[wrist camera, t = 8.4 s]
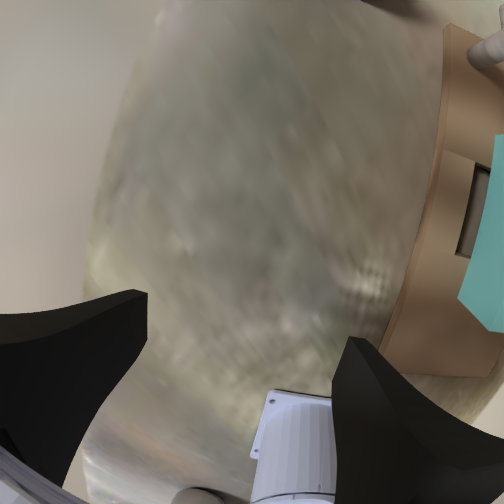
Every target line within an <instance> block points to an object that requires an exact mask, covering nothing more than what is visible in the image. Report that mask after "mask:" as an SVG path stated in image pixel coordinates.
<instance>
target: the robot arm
mask: <svg viewBox="0 0 504 504" xmlns="http://www.w3.org/2000/svg"><path fill="white" fill-rule="evenodd" d="M147 302H148V293H146V292H142V291H138V290H135V289H131V290H125V291H121V292H118V293H114V294H111V295H107V296H104V297H101V298H97V299H94V300H91V301H87V302H83V303H80V304H76V305H72V306H68V307H64V308H59V309H55V310H49V311H42V312H34V313H20V314H0V504H89V503H87V502H85V501H83V500H81V499H80V498H78V497H76V496H74V495H72V494H70V493H69V492H67V491H65V490H64V489H62V486H63V483H64V480H65V478H66V475H67V472H68V470H69V467H70V465H71V462H72V460H73V458H74V456H75V453H76V451H77V449H78V447H79V445H80V443H81V441H82V439H83V437H84V435H85V433H86V431H87V429H88V427H89V425H90V423H91V422H92V420H93V418H94V416H95V415H96V413H97V411H98V409H99V408H100V406H101V405H102V403H103V402H104V400H105V399H106V398H107V396H108V395H109V394H110V393H111V391H112V390H113V389H114V388H115V386H116V385H117V384H118V382H119V381H120V380H121V379H122V377H123V376H124V375H125V374H126V372H127V371H128V370H129V368H130V367H131V366H132V365H133V363H134V362H135V361H136V359H137V357H138V356H139V354H140V352H141V351H142V349H143V347H144V345H145V343H146V341H147ZM271 399H274V400H275V401H272V400H271ZM250 457H251V458H254V459H258V463H257V469H256V474H255V480H254V485H253V490H252V495H251V500H250V504H491V503H492V502H493V501H494V500H495V499H497V498H498V497H499V496H500V495H501V494H502V493H503V492H504V439H502V438H499V437H496V436H493V435H490V434H488V433H485V432H483V431H481V430H479V429H477V428H475V427H472V426H470V425H468V424H467V423H465V422H463V421H461V420H459V419H457V418H456V417H454V416H453V415H451V414H449V413H448V412H446V411H444V410H443V409H442V408H440V407H439V406H437V405H436V404H434V403H433V402H432V401H431V400H429V399H428V398H427V397H425V396H424V395H423V394H421V393H420V392H419V391H418V390H417V389H416V388H415V387H413V386H412V385H411V384H410V383H409V382H408V381H407V380H406V379H405V378H404V377H403V376H402V375H401V374H400V373H399V372H398V371H397V370H396V369H395V368H394V367H393V366H392V365H391V364H390V363H389V362H388V361H387V360H386V359H385V358H384V357H383V356H382V355H381V354H380V353H379V352H378V350H377V349H376V348H375V347H374V346H373V345H372V344H371V343H370V342H369V341H367V340H366V339H364V338H357V337H351V336H349V338H348V340H347V343H346V346H345V349H344V351H343V354H342V357H341V359H340V362H339V365H338V367H337V370H336V372H335V375H334V377H333V380H332V395H331V398H323V397H316V396H309V395H303V394H296V393H290V392H285V391H279V390H271V391H269V392H268V395H267V399H266V402H265V406H264V409H263V413H262V416H261V420H260V423H259V426H258V430H257V433H256V436H255V440H254V443H253V446H252V450H251V453H250Z"/></svg>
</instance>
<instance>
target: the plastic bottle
mask: <svg viewBox="0 0 504 504" xmlns="http://www.w3.org/2000/svg"><path fill="white" fill-rule="evenodd" d="M171 504H224V502H223V500H222V499H221V498H220V497H218V496H216V495H214V494H212V493H210V492H207V491H204V490H200V489H193V488H187V489H183V490H182V491H180V492H178V493H177V494H176V495H175V497H174V498H173V500H172V502H171Z"/></svg>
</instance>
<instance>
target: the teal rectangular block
mask: <svg viewBox="0 0 504 504" xmlns="http://www.w3.org/2000/svg"><path fill="white" fill-rule="evenodd" d="M457 299H458V300H459V301H460V302H461V303H462V304H463V305H464V306H465V307H466V308H467V309H468V310H469V311H470V312H471V313H472V314H473V315H474V316H475V317H476V318H477V319H478V320H479V321H480V322H481V323H482V324H483V325H484V326H485V327H486V329H487V330H488V331H493V332H501V333H504V134H501V135H495V144H494V152H493V160H492V167H491V173H490V179H489V185H488V190H487V196H486V201H485V205H484V210H483V214H482V219H481V223H480V227H479V231H478V234H477V238H476V242H475V245H474V249H473V252H472V256H471V259H470V262H469V265H468V269H467V272H466V275H465V278H464V281H463V283H462V286H461V289H460V292H459V295H458V297H457Z"/></svg>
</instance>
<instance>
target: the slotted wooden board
mask: <svg viewBox="0 0 504 504" xmlns="http://www.w3.org/2000/svg"><path fill="white" fill-rule="evenodd" d="M499 14H500V21H501V29H502V30H500V31H498V32H496V33H495V34H493V35H491V36H490V37H488V38H486V39H482V38H480V37H478V36H476V35H474V34H472V33H470V32H468V31H466V30H464V29H462V28H460V27H458V26H456V25H454V24H451V23H450V24H449V25H447V26H446V27H445V28H444V29H443V78H442V93H441V105H440V115H439V124H438V132H437V139H436V146H435V153H434V159H433V165H432V171H431V176H430V181H429V186H428V191H427V196H426V201H425V205H424V210H423V214H422V218H421V222H420V226H419V230H418V234H417V238H416V241H415V245H414V249H413V252H412V256H411V259H410V262H409V266H408V269H407V272H406V276H405V279H404V282H403V285H402V288H401V291H400V294H399V297H398V300H397V303H396V305H395V308H394V311H393V314H392V316H391V319H390V322H389V324H388V327H387V330H386V332H385V335H384V337H383V340H382V342H381V345H380V347H379V350H378V352H379V353H380V354H381V355H382V356H383V357H384V358H385V359H386V360H387V361H388V362H389V363H390V364H391V365H392V366H393V367H394V368H395V369H396V370H397V371H398V372H400V373H411V374H423V375H438V376H458V377H488V376H489V374H490V372H491V370H492V368H493V367H494V365H495V363H496V361H497V359H498V357H499V355H500V353H501V352H502V350H503V348H504V333H501V332H493V331H488V330H487V329H486V327H485V326H484V325H483V324H482V323H481V322H480V321H479V320H478V319H477V318H476V317H475V316H474V315H473V314H472V313H471V312H470V311H469V310H468V309H467V308H466V307H465V306H464V305H463V304H462V303H461V302H460V301H459V300H458V299H457V297H458V295H459V292H460V289H461V286H462V283H463V281H464V278H465V275H466V272H467V269H468V265H469V262H470V259H471V256H468V255H464V254H461V253H457V252H455V251H456V247H457V244H458V240H459V236H460V233H461V229H462V225H463V221H464V217H465V213H466V208H467V204H468V199H469V194H470V189H471V184H472V178H473V173H474V166H475V165H477V166H479V167H481V168H484V169H486V170H488V171H491V167H492V160H493V152H494V144H495V135H501V134H504V4H503V5H501V6H500V8H499Z"/></svg>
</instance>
